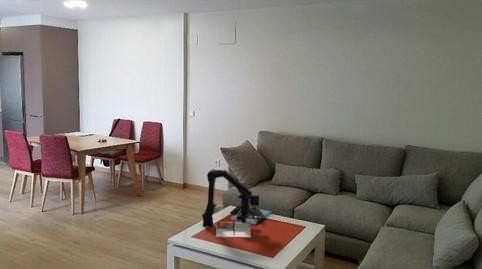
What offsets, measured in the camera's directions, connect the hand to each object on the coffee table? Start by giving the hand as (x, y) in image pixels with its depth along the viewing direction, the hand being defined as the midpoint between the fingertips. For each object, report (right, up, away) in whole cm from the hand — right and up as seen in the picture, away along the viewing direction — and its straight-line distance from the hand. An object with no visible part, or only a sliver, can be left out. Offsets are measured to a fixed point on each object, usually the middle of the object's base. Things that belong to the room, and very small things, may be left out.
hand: (244, 225), depth 268 cm
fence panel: (-1, -2, -2) cm, 3 cm away
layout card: (-7, -3, -7) cm, 10 cm away
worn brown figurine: (+9, +1, +22) cm, 24 cm away
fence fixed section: (-13, -2, -2) cm, 13 cm away
